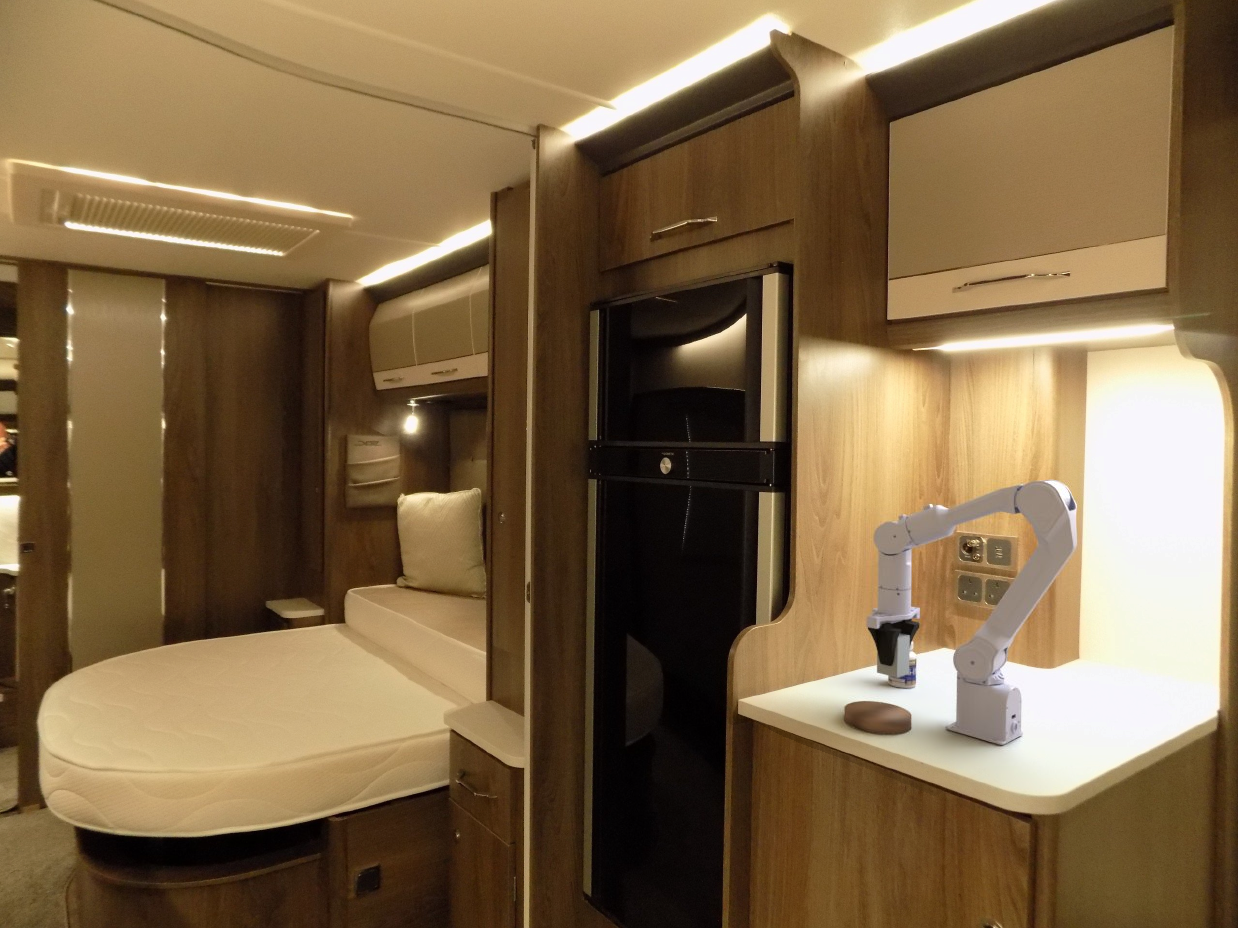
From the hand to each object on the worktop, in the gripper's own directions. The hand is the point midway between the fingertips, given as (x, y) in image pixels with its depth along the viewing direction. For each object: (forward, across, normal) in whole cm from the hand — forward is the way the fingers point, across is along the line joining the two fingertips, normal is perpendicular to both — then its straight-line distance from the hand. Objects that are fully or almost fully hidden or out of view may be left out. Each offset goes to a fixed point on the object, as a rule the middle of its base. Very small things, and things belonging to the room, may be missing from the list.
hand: (893, 662), depth 137 cm
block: (+2, 0, 0) cm, 2 cm away
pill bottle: (+9, -16, -8) cm, 20 cm away
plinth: (+9, +8, +2) cm, 12 cm away
